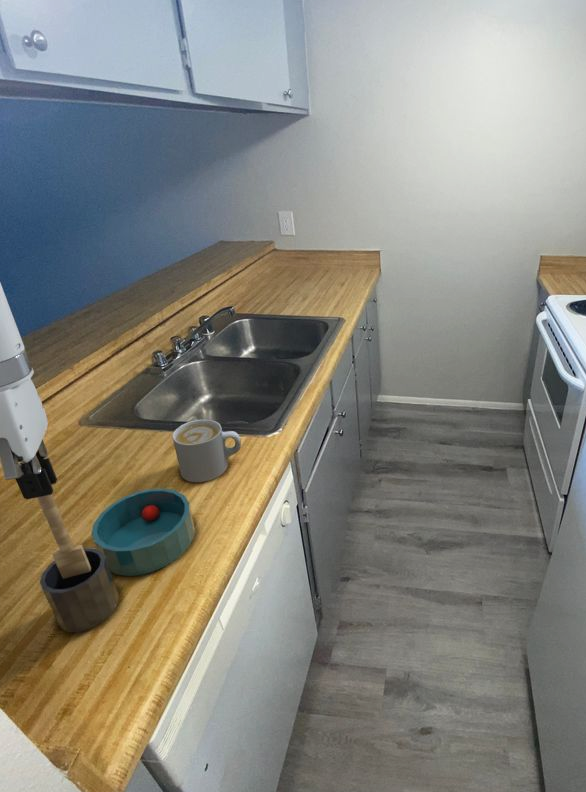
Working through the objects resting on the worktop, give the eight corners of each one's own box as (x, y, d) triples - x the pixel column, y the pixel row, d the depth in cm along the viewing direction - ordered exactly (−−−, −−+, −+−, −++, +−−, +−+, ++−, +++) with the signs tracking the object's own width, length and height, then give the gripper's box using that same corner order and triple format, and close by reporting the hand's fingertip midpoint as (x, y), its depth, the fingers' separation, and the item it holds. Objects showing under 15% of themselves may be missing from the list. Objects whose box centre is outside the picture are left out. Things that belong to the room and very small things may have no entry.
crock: (53, 640, 71) (33, 600, 66) (64, 595, 77) (47, 556, 73) (115, 621, 74) (100, 582, 69) (121, 580, 80) (107, 542, 76)
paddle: (62, 581, 70) (9, 463, 60) (64, 572, 72) (13, 456, 62) (90, 573, 72) (43, 457, 62) (91, 565, 73) (46, 450, 63)
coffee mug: (176, 484, 102) (167, 447, 97) (185, 457, 111) (177, 421, 106) (241, 477, 105) (235, 440, 100) (244, 451, 113) (239, 416, 109)
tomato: (146, 514, 89) (135, 517, 90) (158, 522, 91) (146, 525, 92) (154, 501, 91) (143, 503, 92) (165, 509, 93) (154, 511, 94)
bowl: (94, 587, 79) (85, 561, 76) (107, 523, 92) (98, 499, 89) (195, 560, 84) (189, 536, 82) (193, 503, 97) (188, 481, 94)
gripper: (-26, 347, 61) (24, 462, 69) (-81, 407, 48) (-12, 538, 56) (44, 340, 63) (83, 452, 72) (9, 395, 51) (62, 522, 59)
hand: (41, 489), depth 64 cm, fingers closed on paddle, 1 cm apart
